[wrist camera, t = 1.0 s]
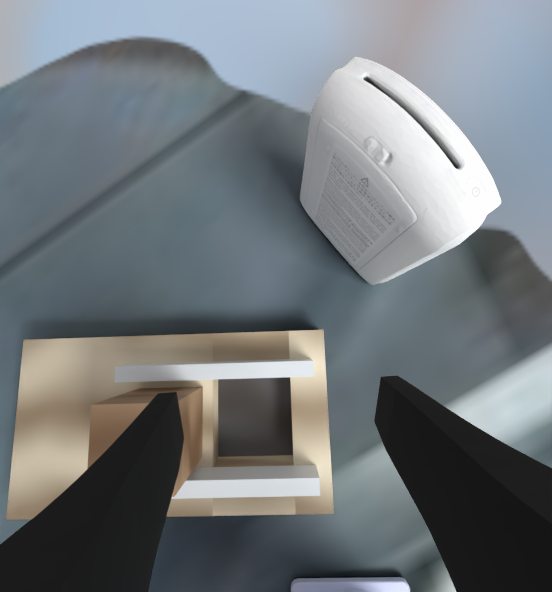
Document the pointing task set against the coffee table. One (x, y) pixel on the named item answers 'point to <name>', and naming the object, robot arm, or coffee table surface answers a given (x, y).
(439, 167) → the photo printer
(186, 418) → the walnut block
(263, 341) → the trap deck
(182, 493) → the channel
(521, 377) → the coffee table surface
